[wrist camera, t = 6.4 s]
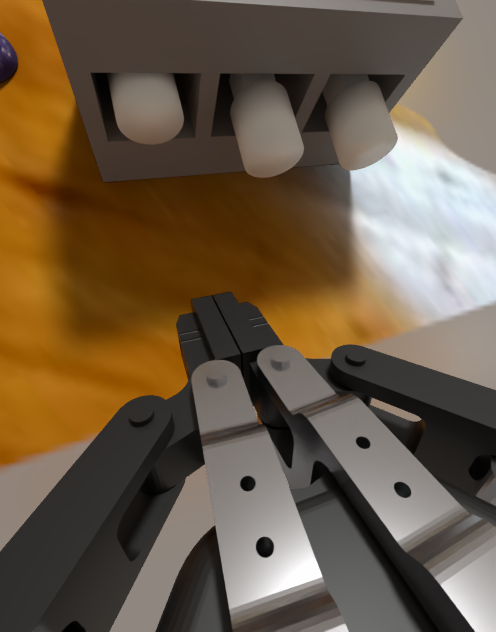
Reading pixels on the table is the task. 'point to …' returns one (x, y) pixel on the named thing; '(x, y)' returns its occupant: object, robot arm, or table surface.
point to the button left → (146, 106)
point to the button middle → (264, 125)
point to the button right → (357, 120)
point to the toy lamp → (7, 59)
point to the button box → (235, 66)
